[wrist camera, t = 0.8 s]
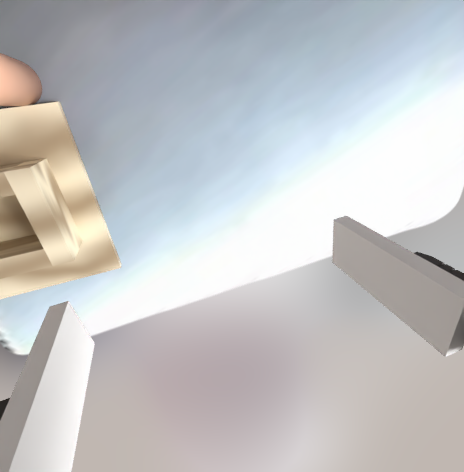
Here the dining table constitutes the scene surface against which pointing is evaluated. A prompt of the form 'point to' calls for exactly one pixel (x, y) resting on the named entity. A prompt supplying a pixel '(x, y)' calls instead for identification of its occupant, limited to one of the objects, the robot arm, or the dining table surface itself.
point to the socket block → (46, 204)
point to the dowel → (18, 83)
